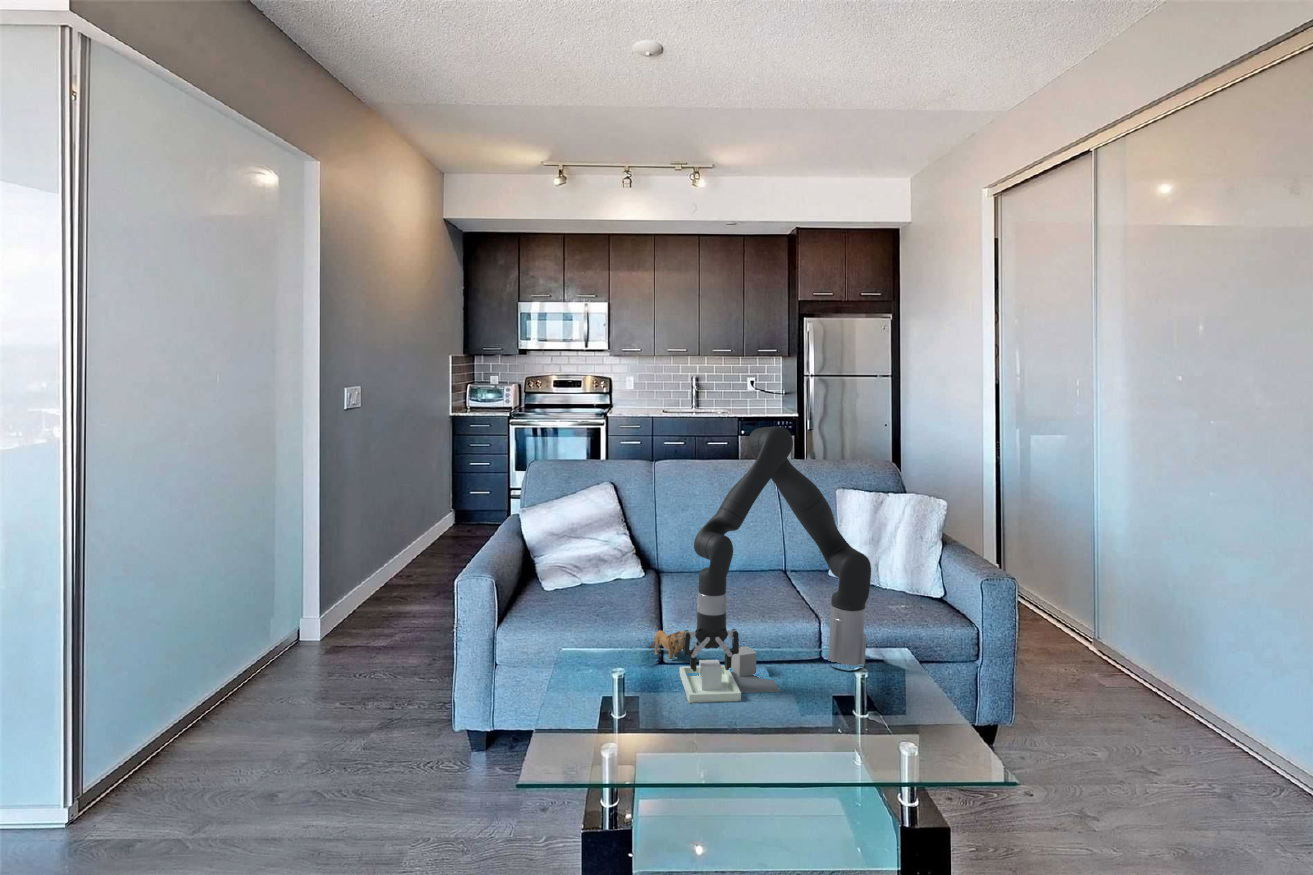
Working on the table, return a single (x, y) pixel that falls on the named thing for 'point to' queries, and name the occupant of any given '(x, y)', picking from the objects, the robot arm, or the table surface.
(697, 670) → the sage tray
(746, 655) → the stone block
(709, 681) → the stone block
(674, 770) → the table surface
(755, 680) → the slate mat
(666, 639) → the lion figurine
